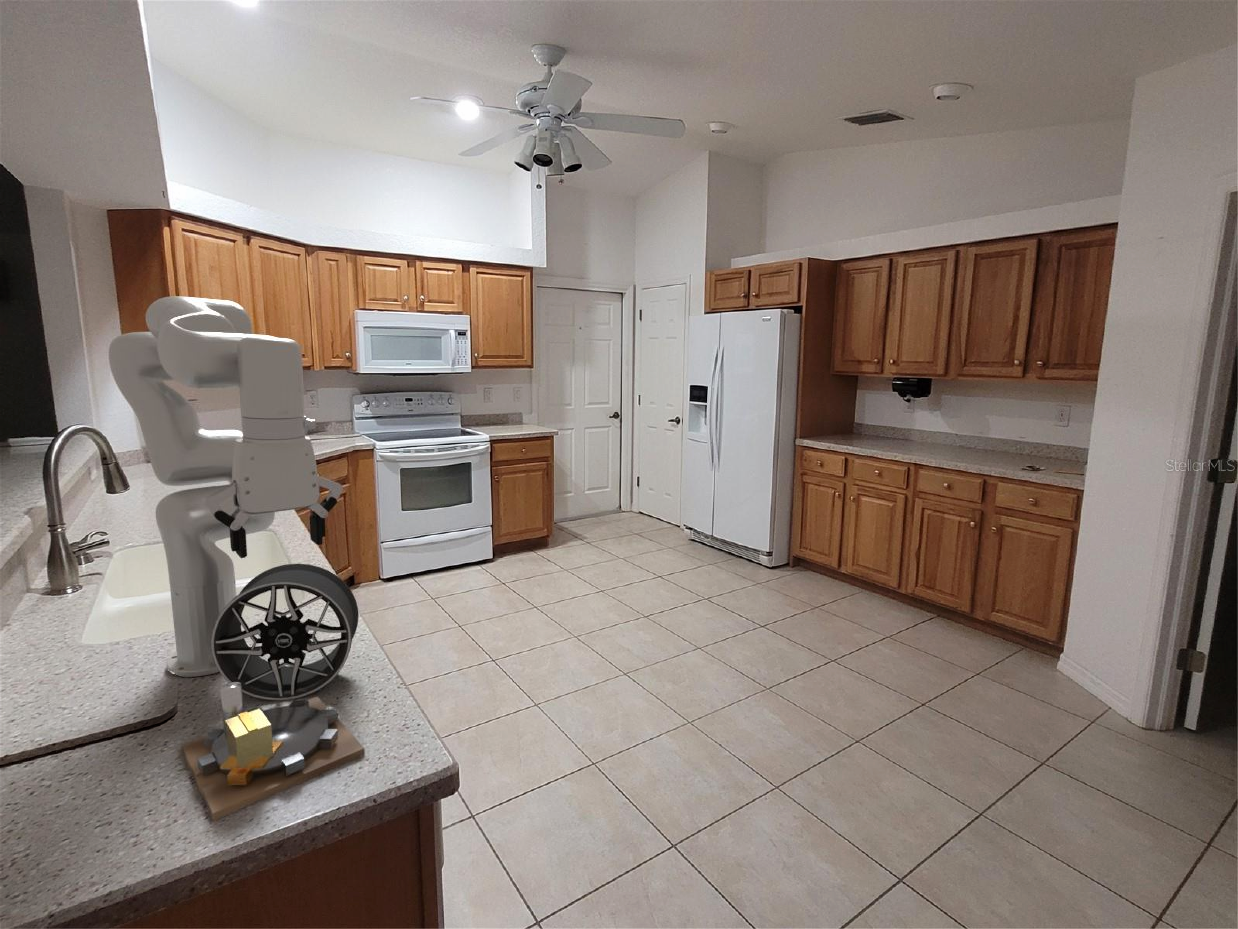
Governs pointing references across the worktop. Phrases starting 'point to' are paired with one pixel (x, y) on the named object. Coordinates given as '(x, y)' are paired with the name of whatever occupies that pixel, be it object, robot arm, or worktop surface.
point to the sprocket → (291, 735)
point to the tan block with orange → (249, 738)
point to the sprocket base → (236, 797)
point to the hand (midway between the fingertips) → (280, 548)
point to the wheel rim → (284, 634)
